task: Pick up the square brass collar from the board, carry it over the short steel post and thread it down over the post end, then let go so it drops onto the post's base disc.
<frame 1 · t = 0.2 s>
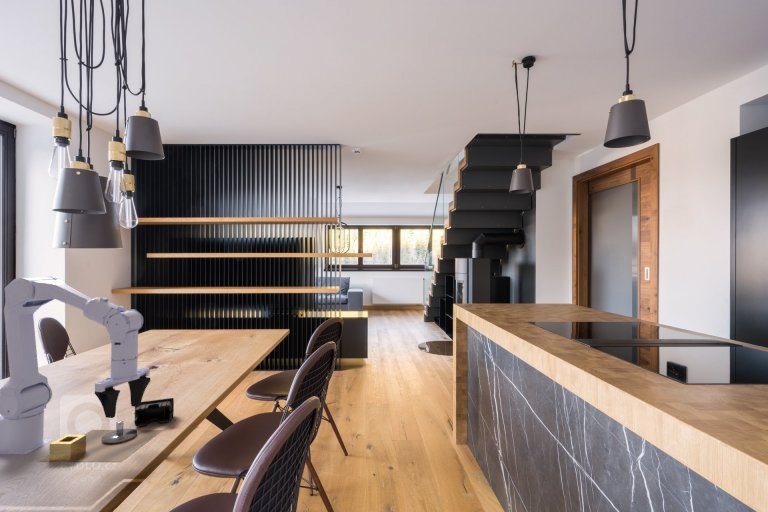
hand: (123, 411, 101), 10 cm above the table, tool pointing down, fingers open, 7 cm apart
collar: (68, 455, 97), point 1 cm above the table, touching board
end cap: (154, 424, 118), on the table
board: (105, 446, 103), on the table
stand: (119, 437, 107), resting on board
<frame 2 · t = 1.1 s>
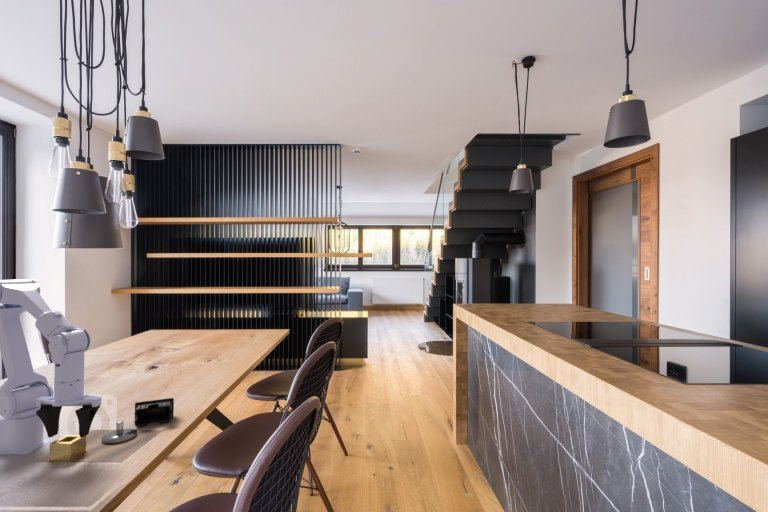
hand: (68, 435, 97), 5 cm above the table, tool pointing down, fingers open, 7 cm apart
nothing on the table moved.
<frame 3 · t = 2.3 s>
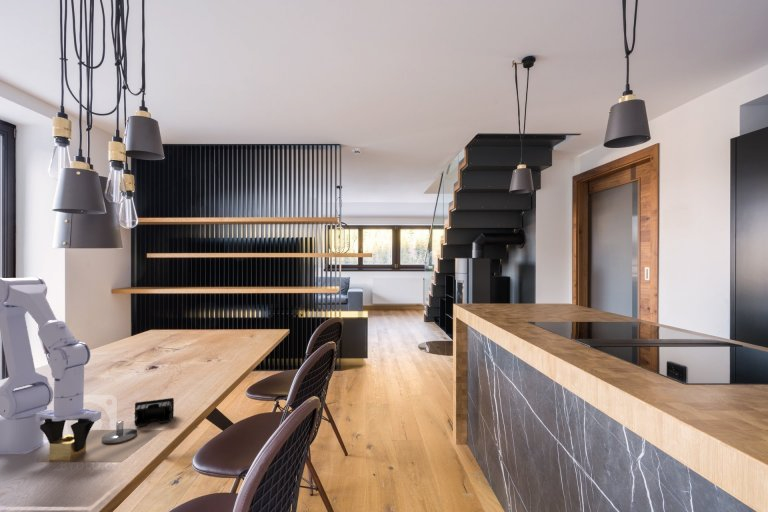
hand: (68, 449, 97), 2 cm above the table, tool pointing down, fingers closed on collar, 5 cm apart
collar: (68, 455, 97), point 1 cm above the table, touching board, gripper
everything else where it was.
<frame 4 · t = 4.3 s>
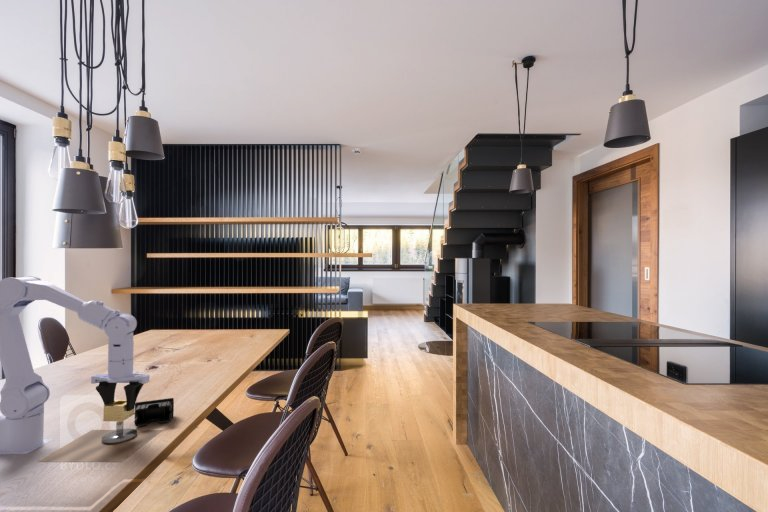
hand: (120, 409, 107), 8 cm above the table, tool pointing down, fingers closed on collar, 5 cm apart
collar: (119, 417, 107), point 6 cm above the table, touching gripper
everything else where it was.
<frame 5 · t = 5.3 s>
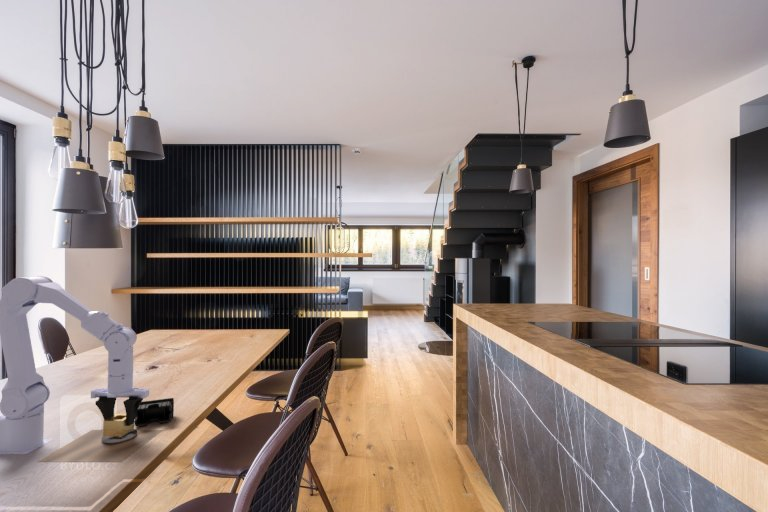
hand: (119, 424, 107), 4 cm above the table, tool pointing down, fingers closed on collar, 5 cm apart
collar: (118, 432, 107), point 2 cm above the table, touching gripper
everything else where it was.
when the fingers open (4 cm above the table, at t = 6.3 s): collar stays where it is, resting on stand.
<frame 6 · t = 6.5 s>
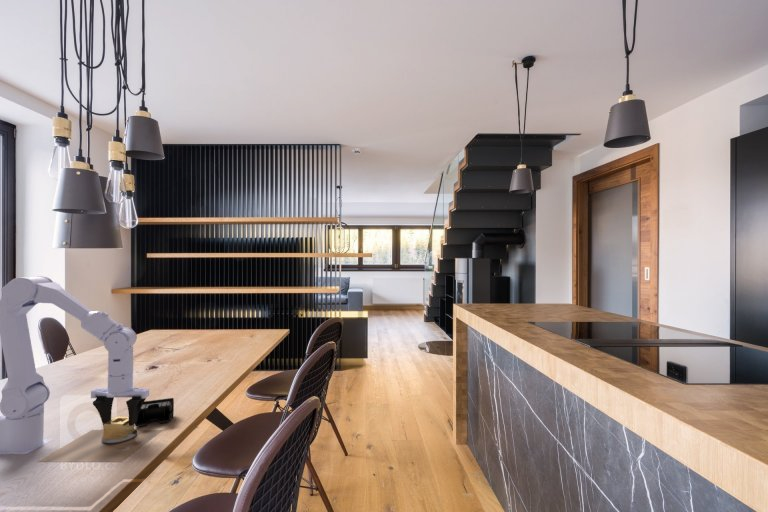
hand: (119, 424, 107), 4 cm above the table, tool pointing down, fingers open, 6 cm apart
collar: (119, 435, 107), point 1 cm above the table, touching stand
everything else where it was.
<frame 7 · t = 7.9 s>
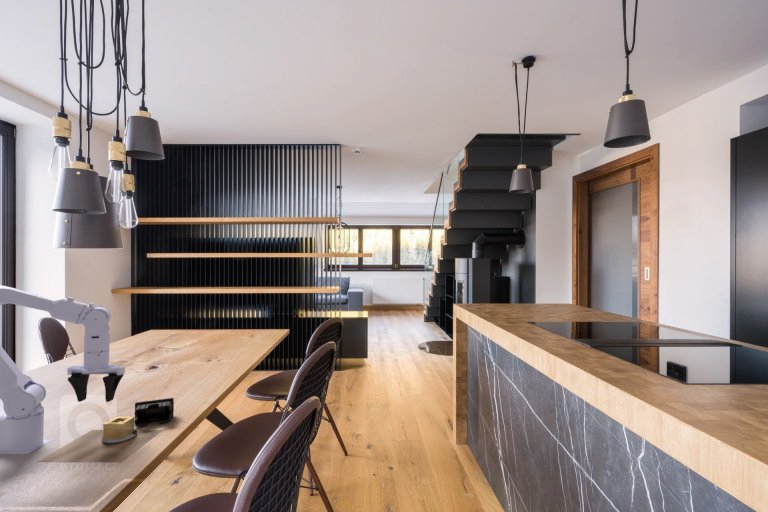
hand: (95, 400, 109), 10 cm above the table, tool pointing down, fingers open, 7 cm apart
nothing on the table moved.
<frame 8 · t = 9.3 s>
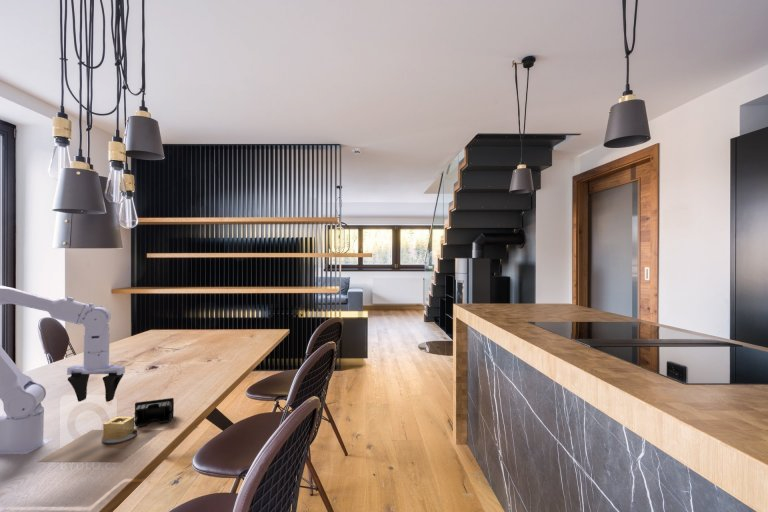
hand: (95, 400, 109), 10 cm above the table, tool pointing down, fingers open, 7 cm apart
nothing on the table moved.
at the end: collar 0.3 cm off-centre on the stand, point 0.8 cm above the stand's base; the gripper is holding nothing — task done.
